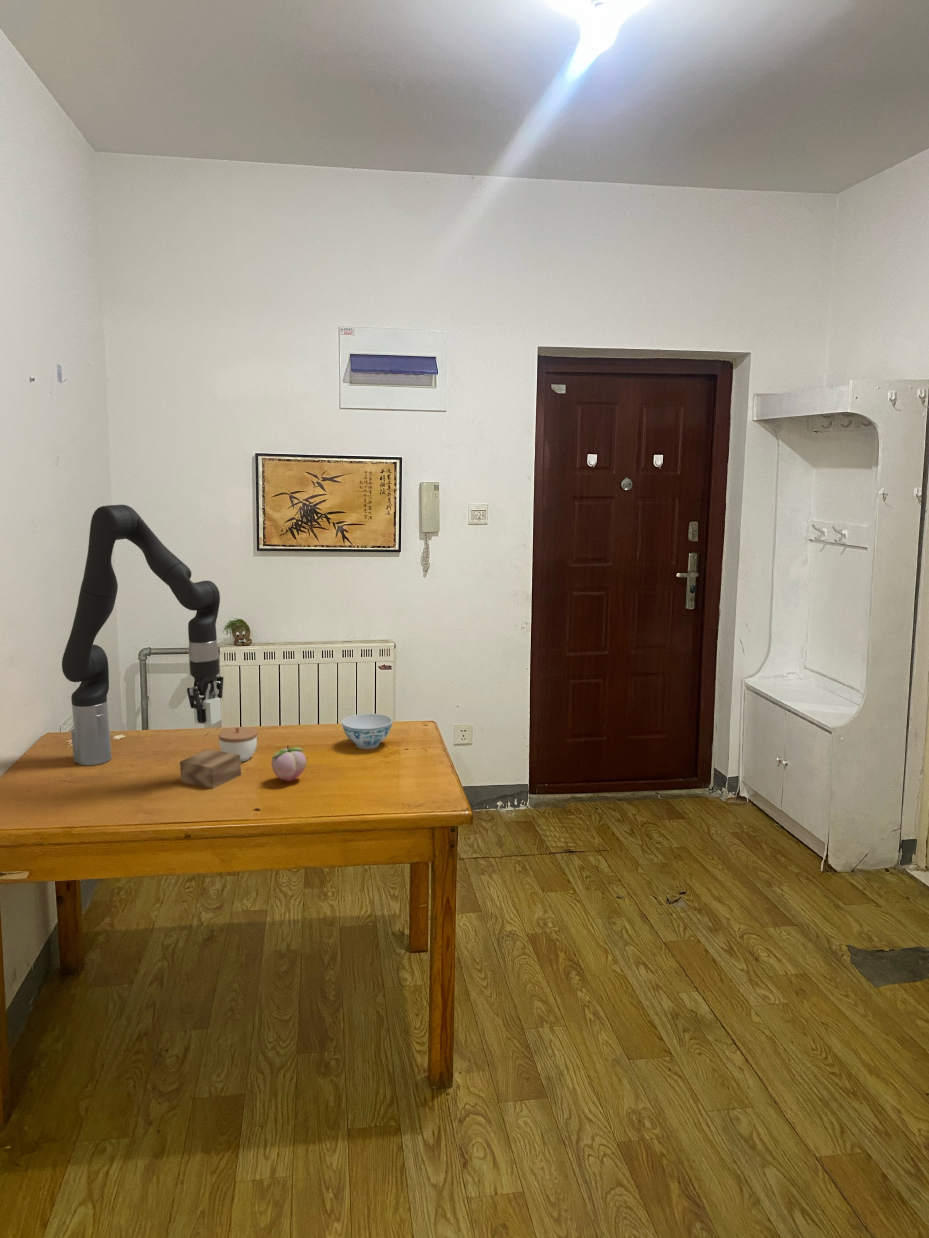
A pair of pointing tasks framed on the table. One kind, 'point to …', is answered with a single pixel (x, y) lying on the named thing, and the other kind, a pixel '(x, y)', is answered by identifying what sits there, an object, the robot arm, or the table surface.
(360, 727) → the chinaware
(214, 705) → the off-white cube
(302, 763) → the decorative fruit
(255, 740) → the lidded jar
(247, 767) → the table surface
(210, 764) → the walnut block
